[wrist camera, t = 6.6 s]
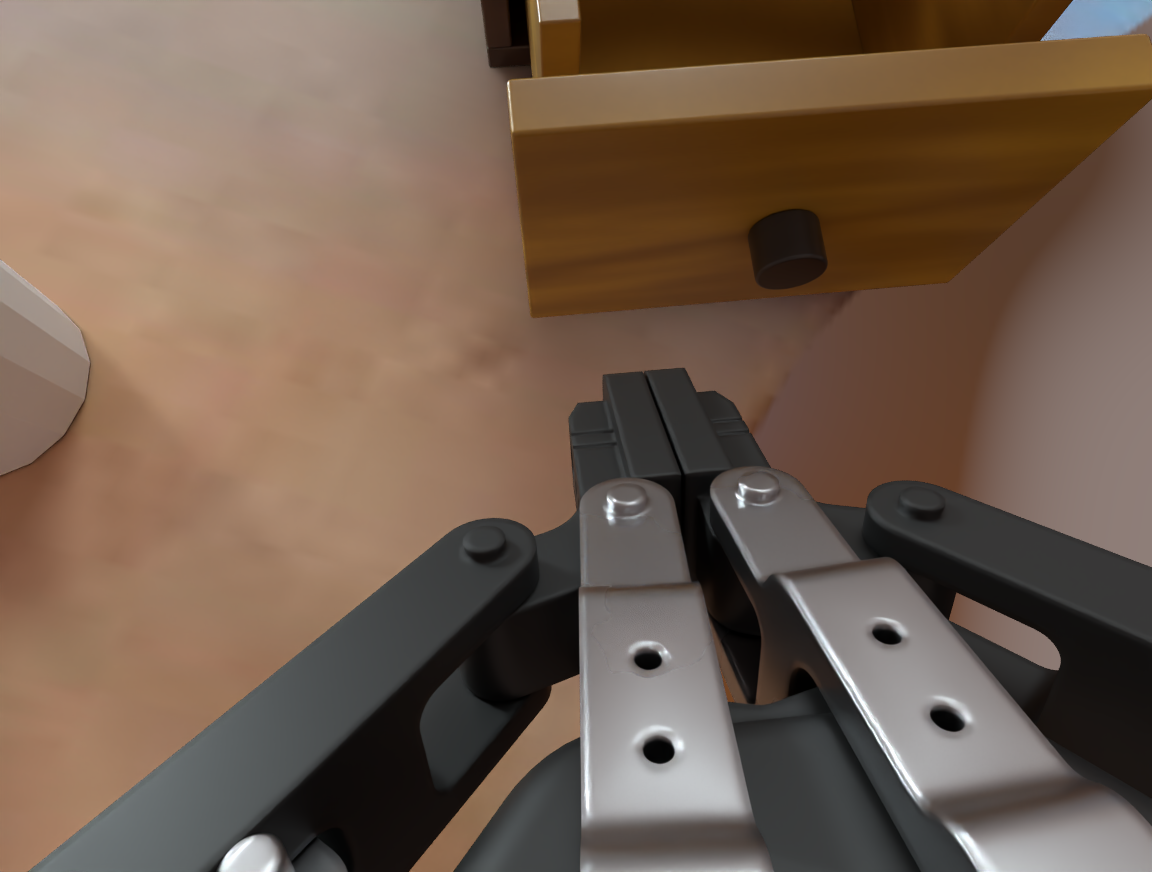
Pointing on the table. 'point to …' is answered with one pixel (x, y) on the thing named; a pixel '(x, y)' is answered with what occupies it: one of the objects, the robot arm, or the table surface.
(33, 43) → the table surface
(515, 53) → the cabinet
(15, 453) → the white faceted cylinder
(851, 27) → the wooden drawer
